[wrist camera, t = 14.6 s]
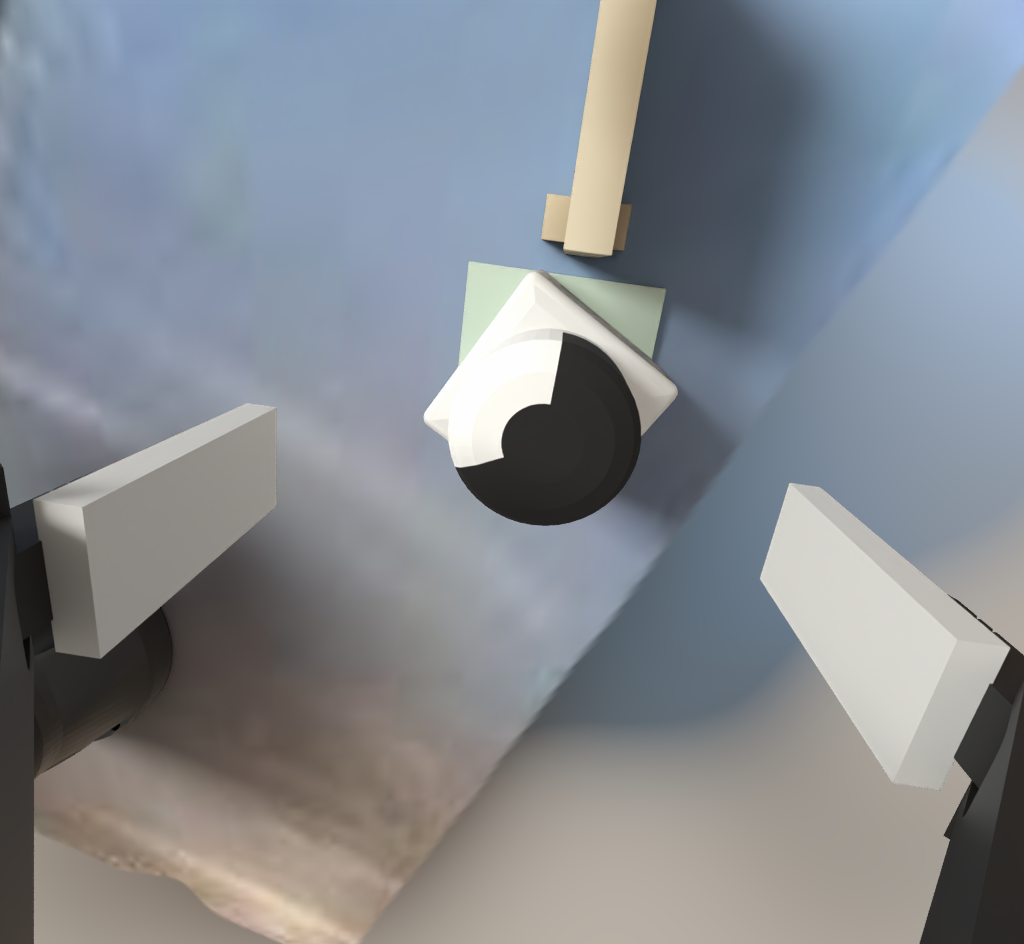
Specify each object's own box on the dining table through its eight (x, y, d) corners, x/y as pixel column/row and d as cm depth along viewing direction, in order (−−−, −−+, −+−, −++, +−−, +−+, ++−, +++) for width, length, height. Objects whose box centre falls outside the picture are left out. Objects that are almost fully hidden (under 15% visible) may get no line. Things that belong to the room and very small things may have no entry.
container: (656, 362, 31) (715, 427, 19) (561, 471, 33) (559, 591, 21) (540, 266, 30) (521, 268, 18) (451, 385, 32) (380, 460, 20)
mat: (451, 446, 34) (450, 448, 34) (470, 261, 30) (469, 261, 30) (626, 473, 34) (627, 475, 33) (665, 288, 30) (666, 289, 30)
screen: (540, 250, 30) (527, 243, 20) (589, -99, 25) (604, -349, 15) (619, 261, 30) (648, 260, 20) (683, -88, 25) (765, -334, 15)
